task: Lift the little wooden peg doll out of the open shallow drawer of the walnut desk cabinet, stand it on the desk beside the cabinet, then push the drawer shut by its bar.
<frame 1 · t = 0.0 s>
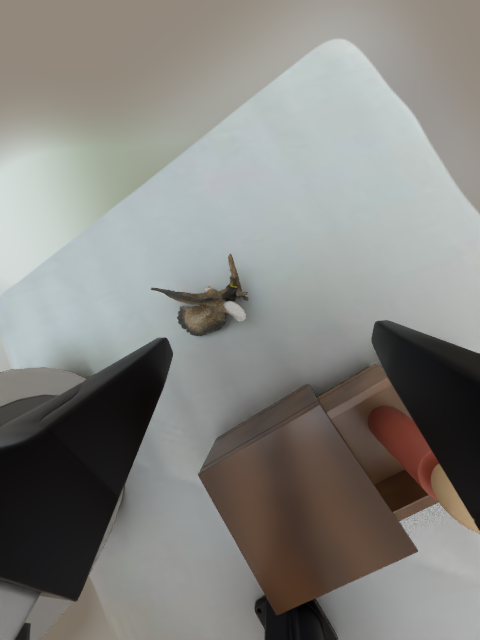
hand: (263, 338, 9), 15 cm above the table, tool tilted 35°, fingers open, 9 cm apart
eagle figurine: (212, 304, 25), on the table
alarm clock: (88, 440, 27), on the table
drawer: (405, 422, 18), point 3 cm above the table, slide at 8.0 cm, touching peg doll
cabinet: (291, 461, 23), on the table
peg doll: (387, 423, 20), point 2 cm above the table, touching drawer
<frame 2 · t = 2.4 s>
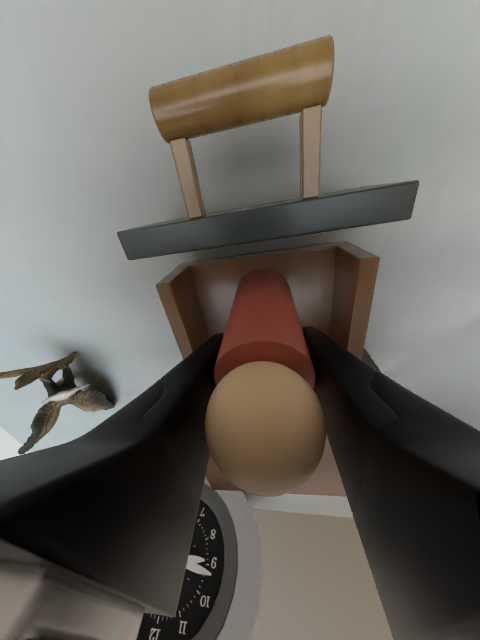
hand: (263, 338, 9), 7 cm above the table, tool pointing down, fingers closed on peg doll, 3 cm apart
eagle figurine: (85, 378, 22), on the table
alarm clock: (194, 484, 33), on the table
drawer: (260, 284, 11), point 3 cm above the table, slide at 8.0 cm, touching peg doll
cabinet: (273, 387, 20), on the table
peg doll: (262, 296, 13), point 2 cm above the table, touching drawer, gripper
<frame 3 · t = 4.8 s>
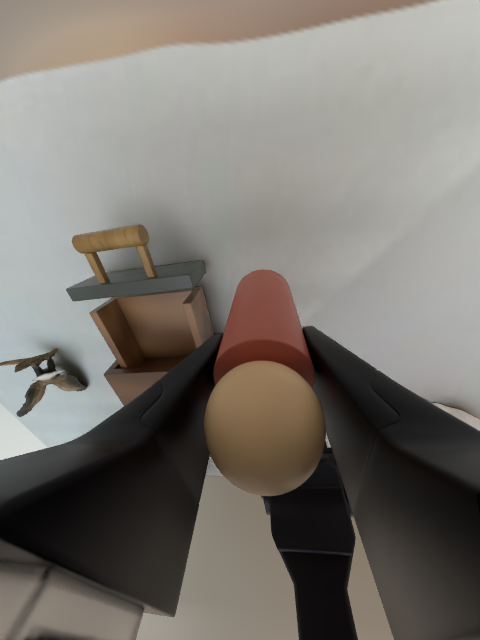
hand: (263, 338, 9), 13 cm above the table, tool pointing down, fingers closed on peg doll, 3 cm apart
rabbit: (425, 415, 29), on the table
eagle figurine: (65, 367, 31), on the table
drawer: (152, 310, 20), point 3 cm above the table, slide at 8.0 cm
cabinet: (192, 373, 29), on the table
peg doll: (262, 295, 13), point 8 cm above the table, touching gripper
when the fingers open (4 cm above the table, at t = 7.2 s): peg doll stays where it is, on the table.
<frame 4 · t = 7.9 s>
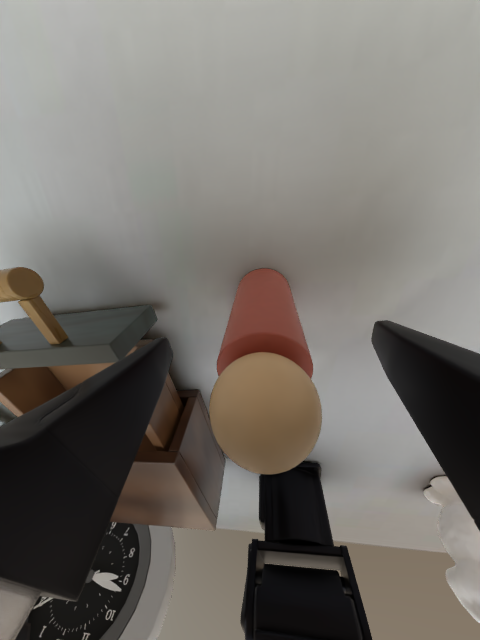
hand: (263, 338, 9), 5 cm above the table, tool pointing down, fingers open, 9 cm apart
rabbit: (457, 482, 23), on the table
alarm clock: (129, 503, 36), on the table
drawer: (82, 374, 14), point 3 cm above the table, slide at 8.0 cm
cabinet: (159, 430, 23), on the table
peg doll: (263, 294, 13), on the table
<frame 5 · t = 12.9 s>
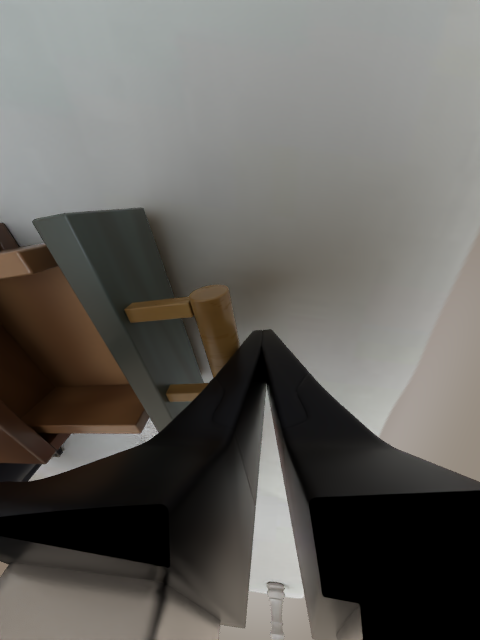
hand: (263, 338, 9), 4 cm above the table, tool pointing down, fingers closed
rook chess piece: (275, 583, 52), on the table
drawer: (100, 343, 11), point 3 cm above the table, slide at 7.4 cm, touching gripper
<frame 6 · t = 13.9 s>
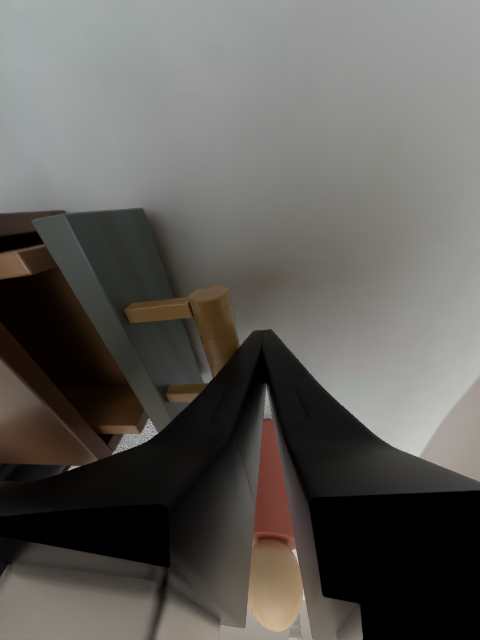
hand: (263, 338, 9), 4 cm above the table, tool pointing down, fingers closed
rook chess piece: (291, 585, 51), on the table
drawer: (99, 343, 11), point 3 cm above the table, slide at 3.5 cm, touching gripper
cabinet: (41, 324, 15), on the table
peg doll: (268, 431, 18), on the table
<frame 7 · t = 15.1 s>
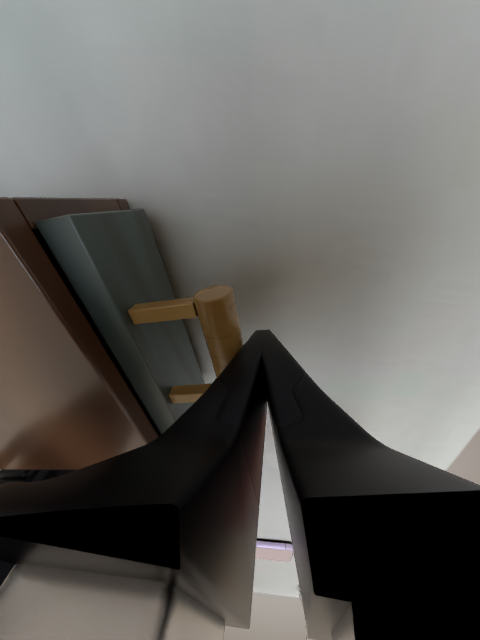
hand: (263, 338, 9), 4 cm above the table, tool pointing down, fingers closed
mobile phone: (249, 544, 36), on the table
drawer: (100, 345, 11), point 3 cm above the table, slide at 0.0 cm, touching cabinet, gripper
cabinet: (82, 322, 14), on the table
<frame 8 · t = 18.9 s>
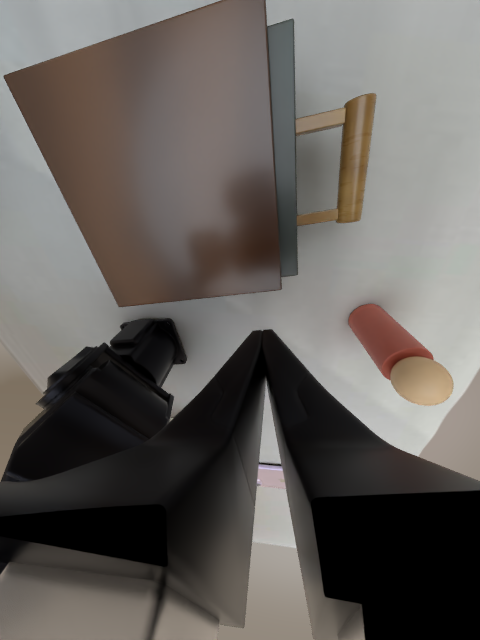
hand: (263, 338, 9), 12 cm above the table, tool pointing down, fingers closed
mobile phone: (283, 474, 39), on the table
drawer: (234, 191, 14), point 3 cm above the table, slide at 0.0 cm
cabinet: (195, 200, 17), on the table
peg doll: (365, 318, 21), on the table
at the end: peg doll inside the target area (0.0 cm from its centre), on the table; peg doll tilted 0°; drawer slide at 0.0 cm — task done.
